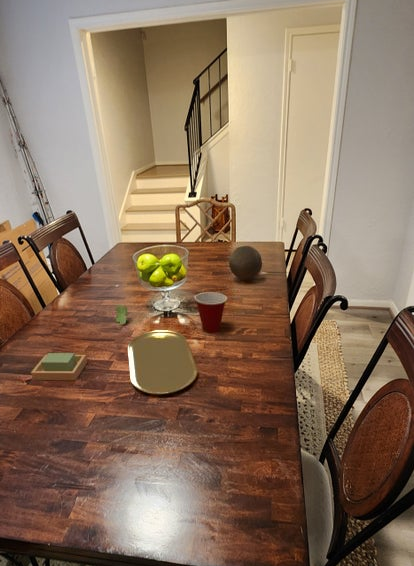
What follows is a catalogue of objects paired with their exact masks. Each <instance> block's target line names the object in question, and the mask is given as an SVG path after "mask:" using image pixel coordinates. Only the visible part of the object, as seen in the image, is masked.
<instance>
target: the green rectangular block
mask: <svg viewBox="0 0 414 566" xmlns="http://www.w3.org/2000/svg"><path fill="white" fill-rule="evenodd" d="M46 355H47V356H46V357H45V358H44V359H43V358H42V359H43V360H42V359H41V360H42V362H41V364H42V367H43V370H44V371H73V369H74V368H75V366H76V365H77V360H76V357H75V355H76V353H75V352H48V353H47V354H46Z"/></svg>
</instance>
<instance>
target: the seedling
mask: <svg viewBox="0 0 414 566" xmlns="http://www.w3.org/2000/svg"><path fill="white" fill-rule="evenodd" d="M115 311H116V312H117V313H116V315H115V321H116V323H119V324H120V325H121V326H122V325H125V324H126V321H127V317H129V315H128V308H127V306H126V304H125V305H124V304H123V306H122V305H120V304H117V305H116V306H115Z"/></svg>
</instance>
